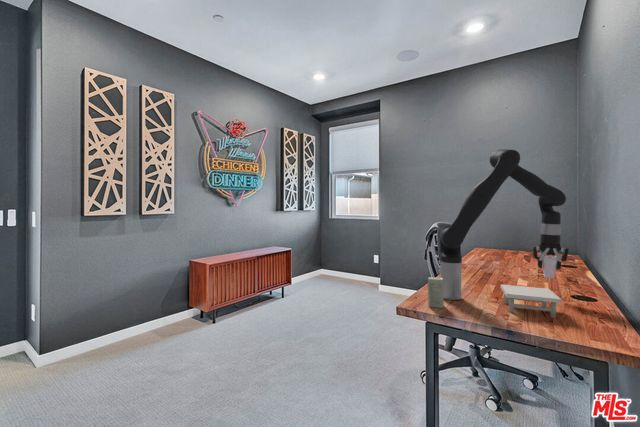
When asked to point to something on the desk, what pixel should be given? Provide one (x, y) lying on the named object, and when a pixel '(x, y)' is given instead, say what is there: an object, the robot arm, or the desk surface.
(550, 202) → the robot arm
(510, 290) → the footstool
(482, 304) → the desk surface
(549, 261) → the smoothie
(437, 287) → the skincare box
